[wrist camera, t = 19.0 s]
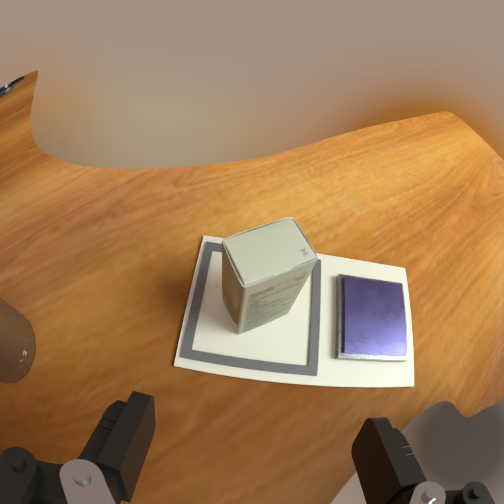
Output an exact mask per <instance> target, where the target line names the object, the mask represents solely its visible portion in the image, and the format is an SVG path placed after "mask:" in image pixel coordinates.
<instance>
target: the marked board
mask: <svg viewBox="0 0 504 504" xmlns="http://www.w3.org/2000/svg"><path fill="white" fill-rule="evenodd" d="M222 239H224V238H218V237H211V236H205V235H204V237H203V241H202V244H201V248H200V252H199V256H198V260H197V264H196V268H195V272H194V277H193V281H192V285H191V289H190V293H189V298H188V302H187V306H186V311H185V315H184V320H183V324H182V329H181V333H180V338H179V343H178V348H177V352H176V357H175V362H174V366H175V367H180V368H185V369H190V370H195V371H201V372H206V373H212V374H218V375H224V376H230V377H237V378H244V379H251V380H259V381H268V382H277V383H287V384H298V385H312V386H329V387H362V388H384V387H413V386H414V355H413V336H412V323H411V312H410V302H409V293H408V285H407V278H406V271H405V268H401V267H395V266H389V265H383V264H377V263H371V262H365V261H359V260H353V259H347V258H341V257H335V256H329V255H323V254H317V253H316V254H317V256H318V260H317V262H316V264H315V265H314V267H313V269H312V271H311V273H310V275H309V277H308V279H307V280H306V282H305V284H304V286H303V288H302V289H301V291H300V293H299V295H298V297H297V298H296V300H295V302H294V304H293V306H292V307H291V309H290V311H289V313H288V314H286V315H284V316H282V317H280V318H278V319H276V320H274V321H271V322H269V323H267V324H264V325H262V326H260V327H257V328H255V329H252V330H250V331H247V332H244V333H242V334H237V333H236V332H235V330H234V327H233V325H232V323H231V321H230V318H229V316H228V314H227V311H226V309H225V306H224V304H223V301H222ZM338 274H344V275H350V276H357V277H364V278H370V279H377V280H384V281H391V282H397V283H402V284H403V292H404V301H405V311H406V323H407V338H408V361H405V362H378V361H355V360H338V359H335V346H336V277H337V275H338Z"/></svg>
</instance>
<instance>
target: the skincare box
mask: <svg viewBox="0 0 504 504" xmlns="http://www.w3.org/2000/svg"><path fill="white" fill-rule="evenodd" d="M317 260H318V256H317V254H316V253H315V251H314V250H313V248H312V246H311V245H310V243H309V241H308V240H307V238H306V236H305V235H304V233H303V232H302V230H301V229H300V227H299V226H298V224H297V223H296V222H295V220H294V219H293V217H288V218H283V219H280V220H277V221H273V222H270V223H267V224H264V225H261V226H258V227H255V228H252V229H249V230H246V231H243V232H240V233H237V234H235V235H232V236H229V237H227V238H224V239H222V301H223V304H224V306H225V309H226V311H227V314H228V316H229V318H230V321H231V323H232V325H233V327H234V330H235V332H236V333H237V334H242V333H244V332H247V331H250V330H252V329H255V328H257V327H260V326H262V325H264V324H267V323H269V322H271V321H274V320H276V319H278V318H280V317H282V316H284V315H286V314H288V313H289V311H290V309H291V307H292V306H293V304H294V302H295V300H296V298H297V297H298V295H299V293H300V291H301V289H302V288H303V286H304V284H305V282H306V280H307V279H308V277H309V275H310V273H311V271H312V269H313V267H314V265H315V264H316V262H317Z"/></svg>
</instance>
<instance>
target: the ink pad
mask: <svg viewBox="0 0 504 504" xmlns="http://www.w3.org/2000/svg"><path fill="white" fill-rule="evenodd" d="M335 359H338V360H355V361H378V362H405V361H408V338H407V323H406V311H405V301H404V292H403V284H402V283H397V282H391V281H384V280H377V279H370V278H364V277H357V276H350V275H344V274H338V275H337V277H336V346H335Z"/></svg>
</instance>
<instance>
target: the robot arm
mask: <svg viewBox="0 0 504 504" xmlns="http://www.w3.org/2000/svg"><path fill="white" fill-rule="evenodd" d="M34 352H35V338H34V333H33V330H32V327H31V325H30V323H29V321H28V320H27V319H26V318H25V317H24V316H23V315H22V314H20V313H19V312H18V311H16V310H15V309H14V308H12V307H11V306H10V305H8V304H7V303H6V302H5V301H4V300H2V299H1V298H0V380H1V381H5V382H15V381H18V380H19V379H21V378H22V377H23V376H24V375H25V374H26V373H27V371H28V370H29V368H30V366H31V364H32V361H33V358H34ZM154 430H155V408H154V397H153V396H151V395H147V394H143V393H140V392H136V391H133V392H132V394H131V395H130V397H129V399H128V401H127V403H126V402H122V401H119V400H117V401H116V402H115V403H113V404H112V405H110V406H109V407H108V408H107V409H106V411H105V413H104V414H103V416H102V419H100V421H99V423H98V425H97V427H96V428H95V430H94V432H93V433H92V435H91V437H90V439H89V440H88V442H87V444H86V446H85V447H84V449H83V451H82V453H81V455H80V456H79V457H78V458H77V459H75V460H71V461H68V462H67V463H65V464H53V463H47V462H42V461H37V460H35V458H34V456H33V455H32V454H31V453H30V452H29V451H27V450H26V449H23V448H20V447H12V448H8V449H6V450H5V451H4V452H3V453H2V454H1V456H0V504H120V502H121V500H123V501H126V502H130V501H131V498H132V495H133V492H134V489H135V487H136V484H137V481H138V478H139V475H140V472H141V469H142V466H143V464H144V461H145V458H146V455H147V452H148V450H149V447H150V444H151V441H152V438H153V435H154ZM352 458H353V461H354V464H355V467H356V471H357V474H358V477H359V480H360V483H361V487H362V490H363V493H364V496H365V500H366V503H367V504H495V503H494V501H493V499H492V497H491V495H490V493H489V491H488V490H487V488H486V486H485V485H483V484H482V483H480V482H470V483H468V484H466V485H465V487H464V488H463V489H462V490H455V491H444V489H443V488H442V487H441V486H440V485H439V484H436V483H434V482H428V481H427V480H426V478H425V476H424V474H423V472H422V470H421V468H420V466H419V464H418V462H417V460H416V458H415V456H414V455H413V452H412V450H411V448H410V447H409V444H408V442H407V440H406V438H405V436H404V435H403V434H402V433H400V432H399V431H398V430H397V429H396V428H395V429H393V428H392V426H391V424H390V422H389V420H388V419H387V418H386V417H381V418H368V419H366V421H365V422H364V424H363V426H362V428H361V430H360V432H359V433H358V435H357V437H356V439H355V440H354V442H353V445H352Z"/></svg>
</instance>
